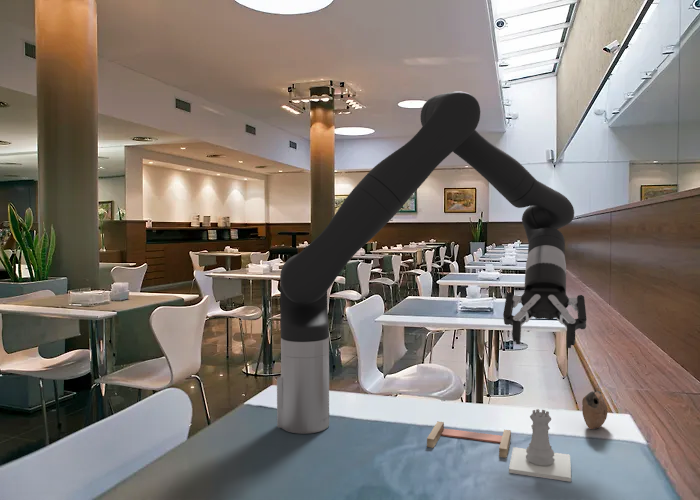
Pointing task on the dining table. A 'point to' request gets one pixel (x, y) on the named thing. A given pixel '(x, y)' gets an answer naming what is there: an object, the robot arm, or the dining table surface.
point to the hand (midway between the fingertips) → (543, 343)
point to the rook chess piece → (540, 440)
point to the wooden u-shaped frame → (470, 437)
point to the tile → (553, 471)
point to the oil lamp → (594, 410)
